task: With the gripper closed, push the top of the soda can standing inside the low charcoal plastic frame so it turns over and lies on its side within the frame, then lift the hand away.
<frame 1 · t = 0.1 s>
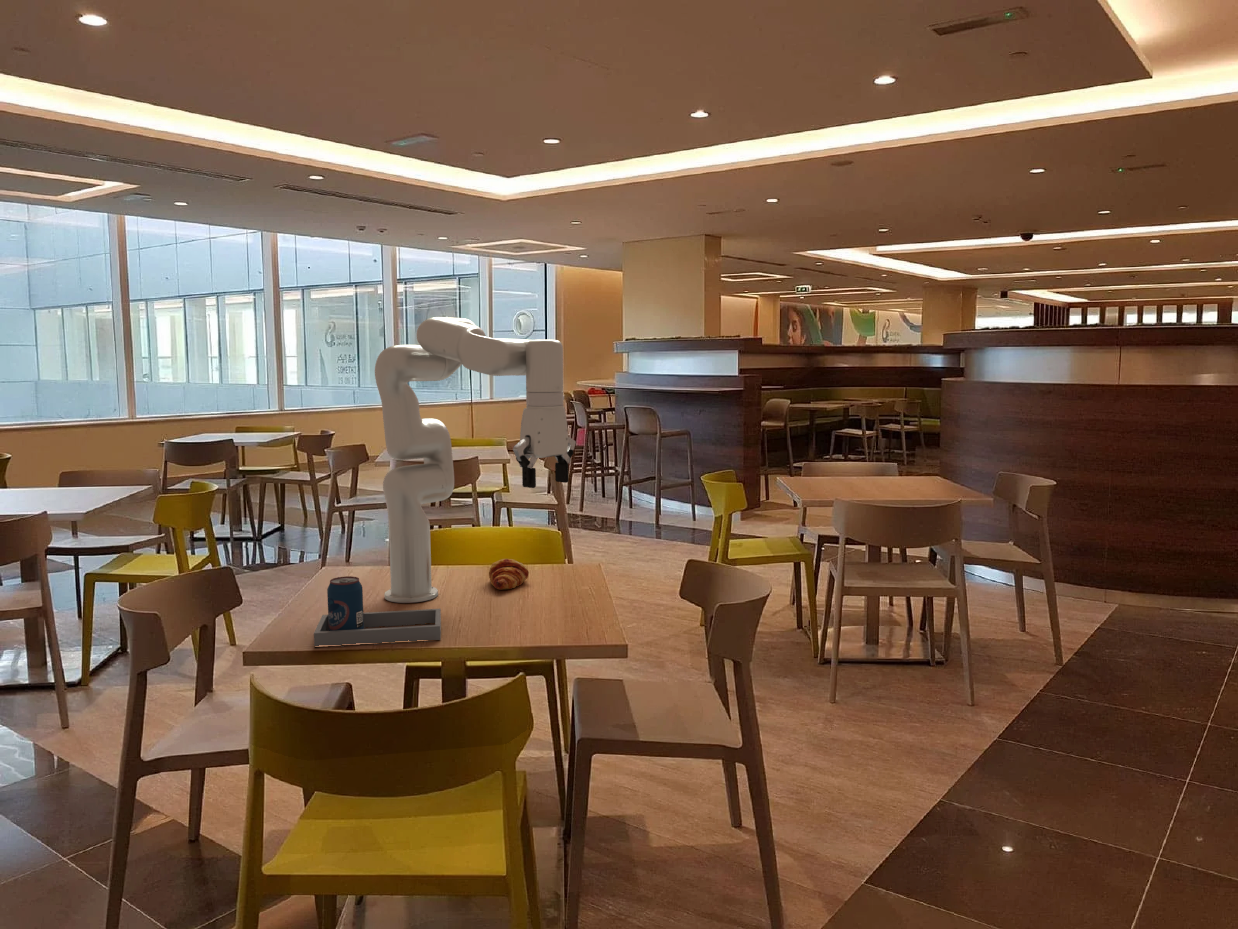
hand: (545, 484, 183), 31 cm above the table, tool pointing down, fingers open, 9 cm apart
plastic frame: (380, 634, 185), on the table
soda can: (346, 637, 184), resting in plastic frame
croissant: (509, 584, 228), on the table
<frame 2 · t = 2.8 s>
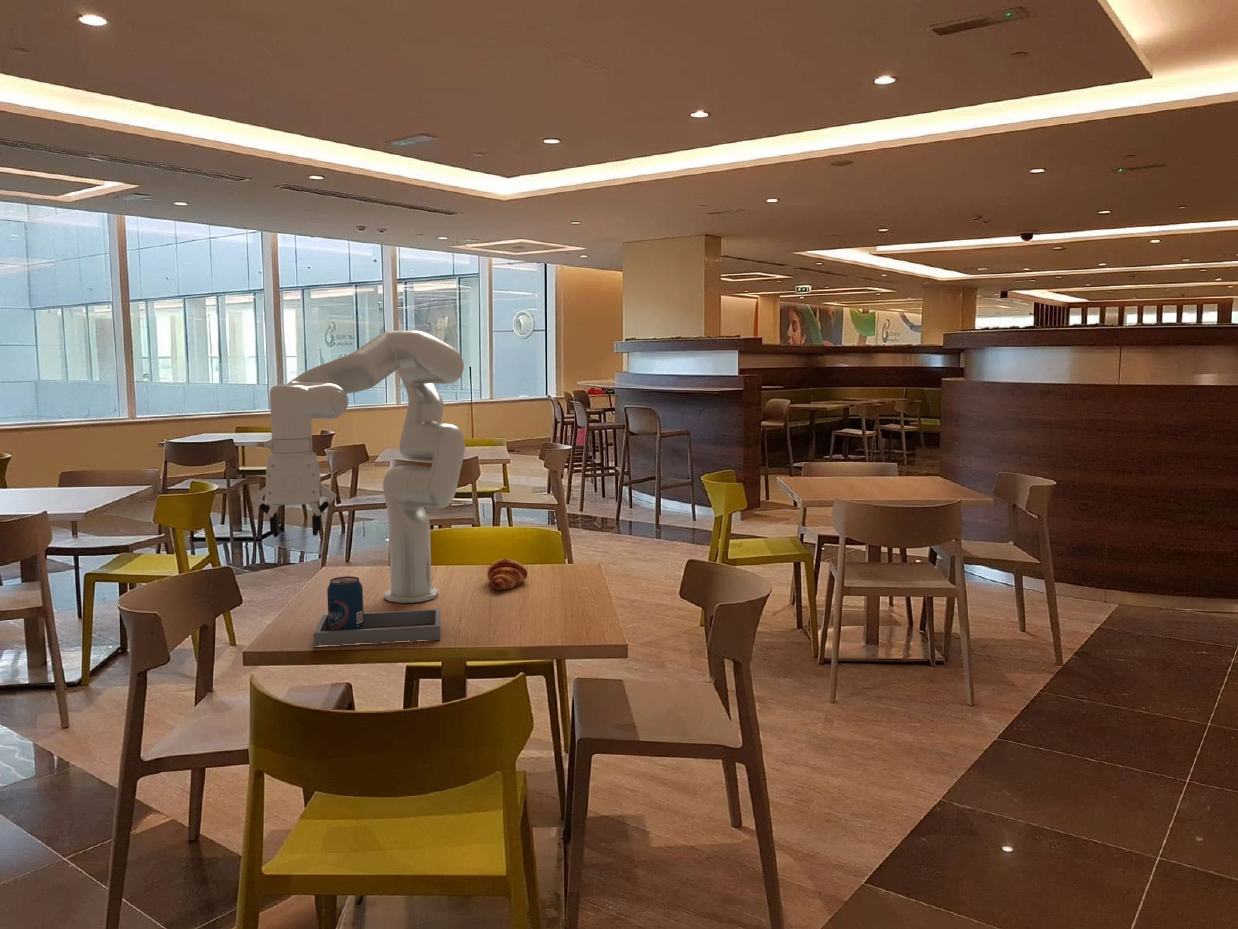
hand: (296, 534, 179), 22 cm above the table, tool pointing down, fingers open, 6 cm apart
nothing on the table moved.
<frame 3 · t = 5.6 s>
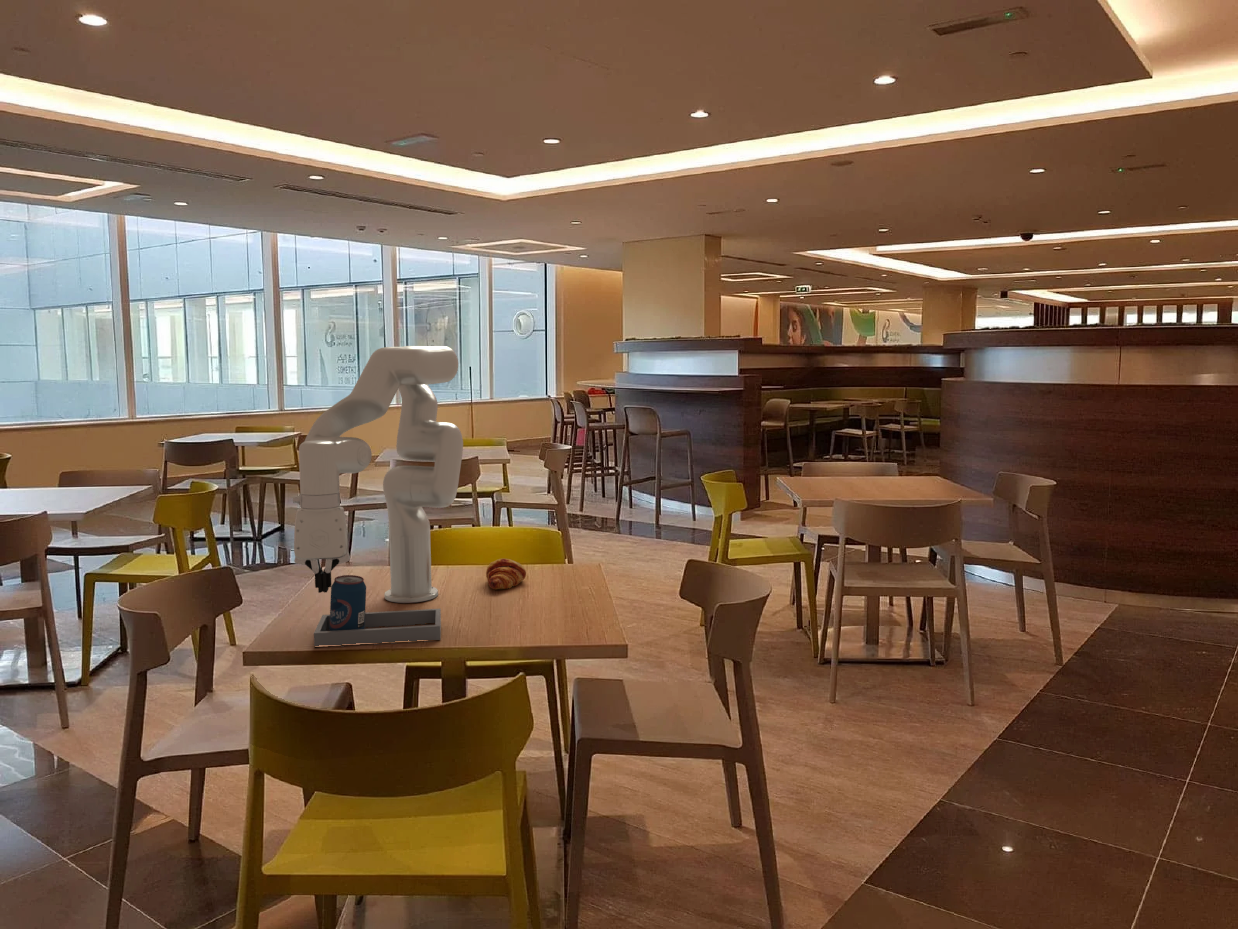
hand: (323, 590, 182), 10 cm above the table, tool pointing down, fingers closed
soda can: (346, 636, 184), resting in plastic frame, touching gripper
everything else where it was.
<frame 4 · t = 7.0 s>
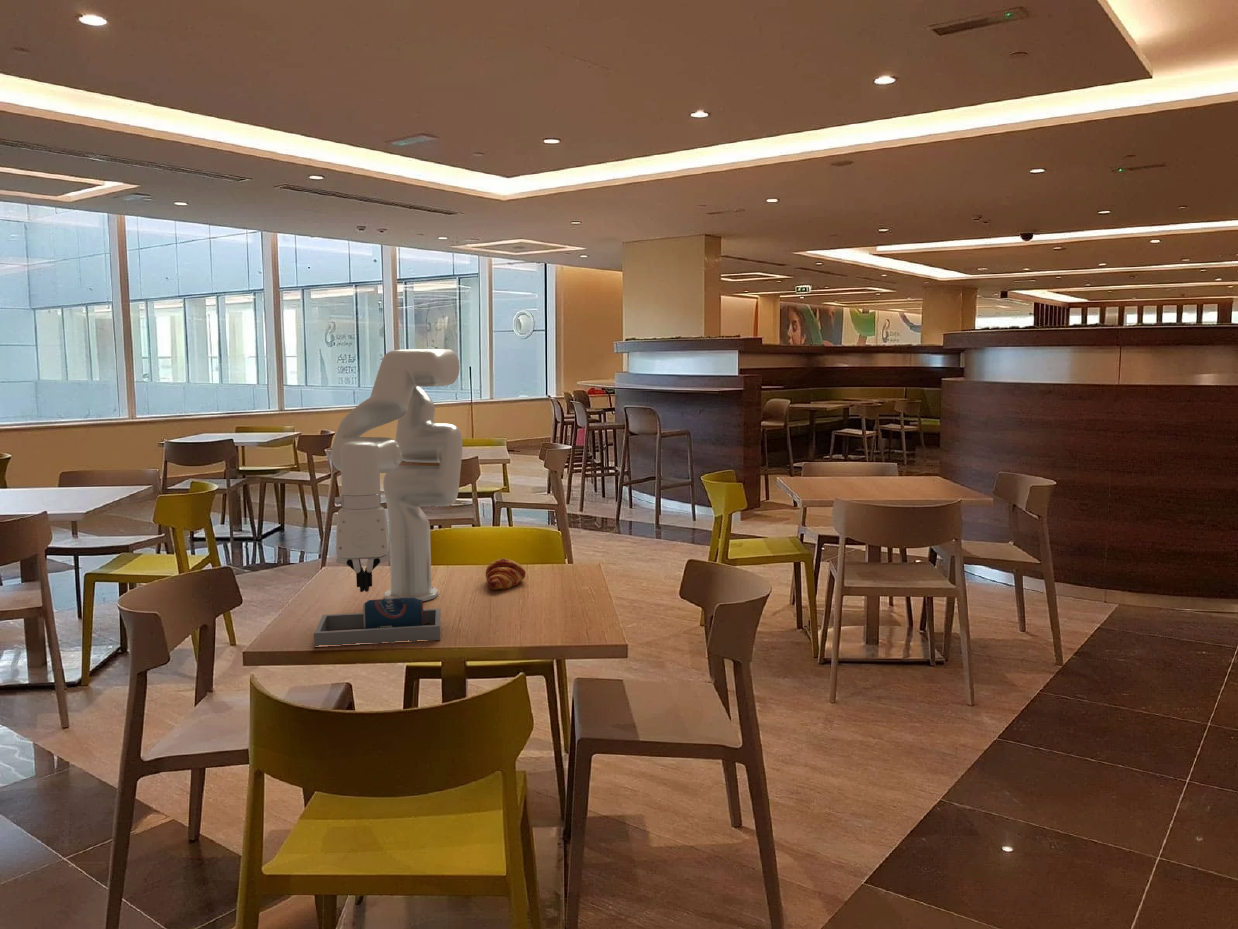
hand: (364, 590, 183), 10 cm above the table, tool pointing down, fingers closed
soda can: (362, 617, 185), point 3 cm above the table, touching plastic frame
everything else where it was.
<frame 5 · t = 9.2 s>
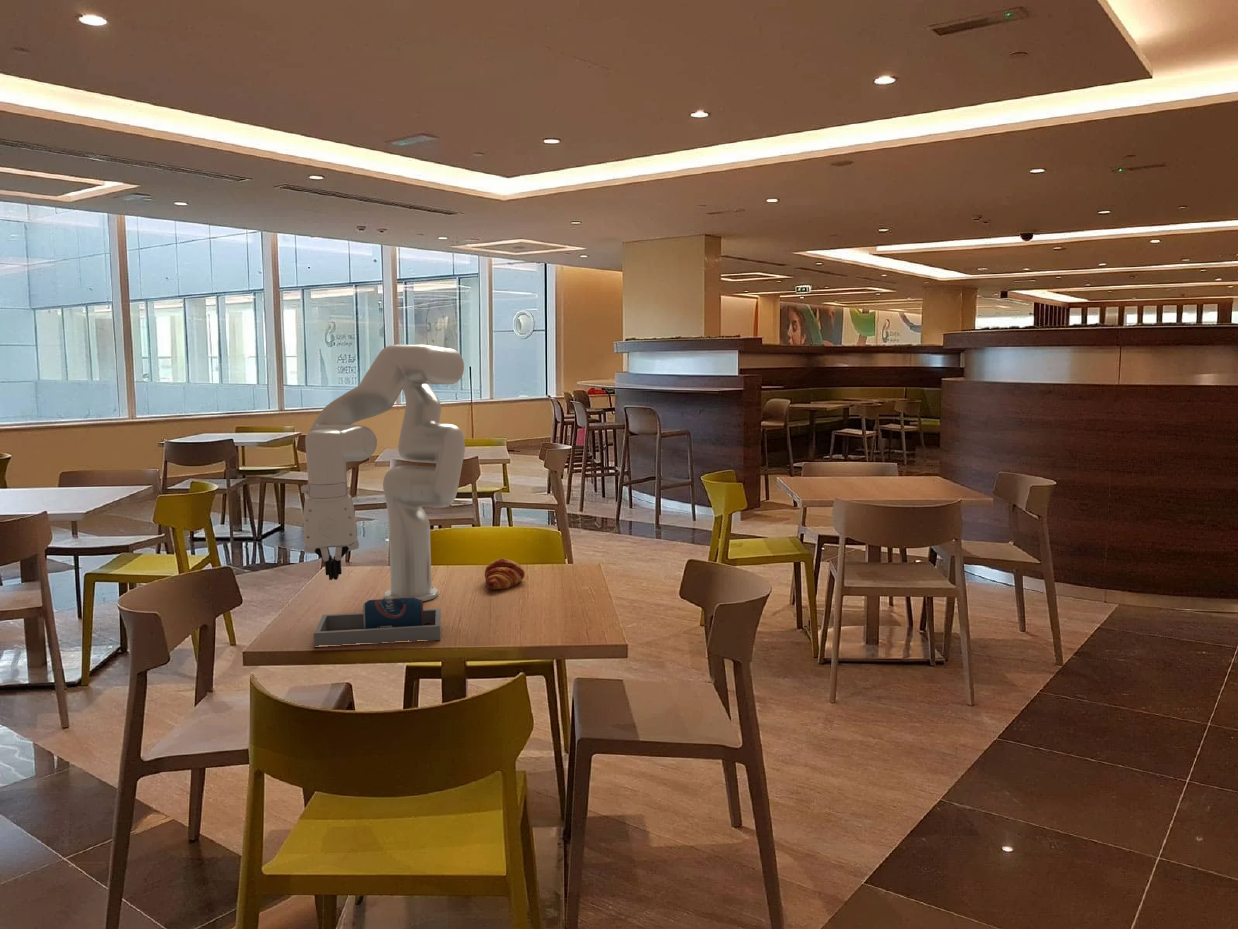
hand: (334, 578, 184), 12 cm above the table, tool pointing down, fingers closed
nothing on the table moved.
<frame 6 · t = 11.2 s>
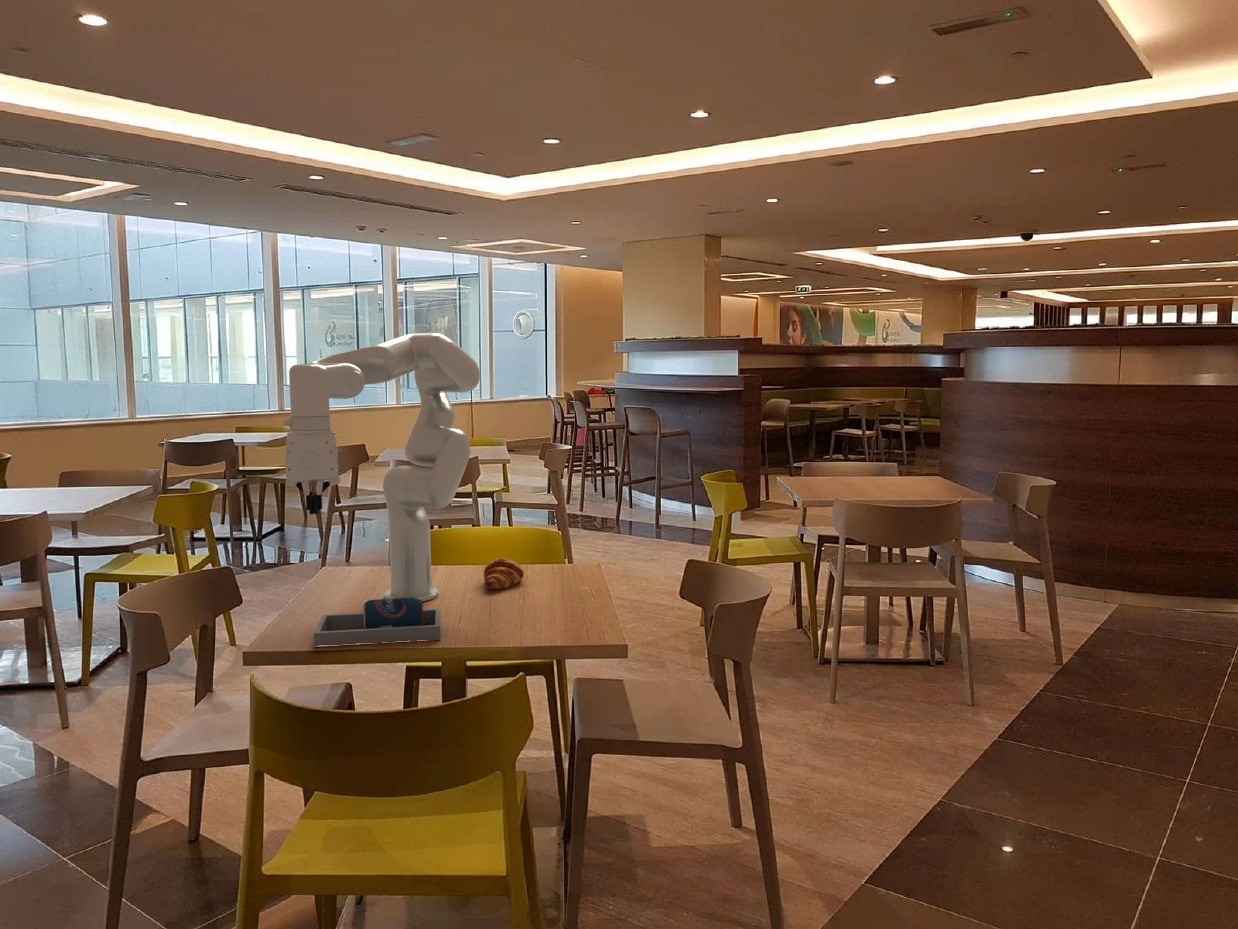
hand: (314, 513, 185), 25 cm above the table, tool pointing down, fingers closed
at the end: soda can tilted 90°; soda can inside the target area (4.0 cm from its centre), point 3.5 cm above the table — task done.
